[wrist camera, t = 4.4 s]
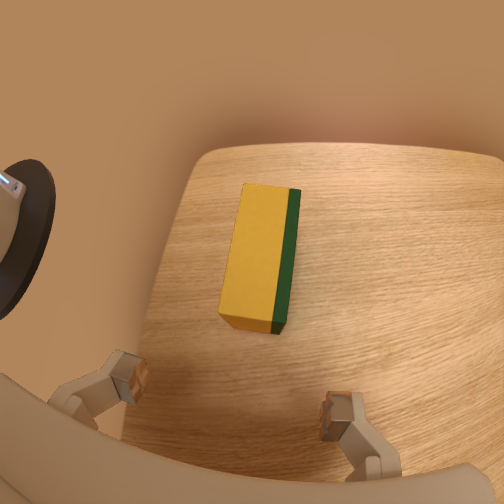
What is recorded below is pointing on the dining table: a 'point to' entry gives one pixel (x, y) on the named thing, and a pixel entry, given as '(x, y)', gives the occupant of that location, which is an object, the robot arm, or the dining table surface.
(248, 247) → the sponge
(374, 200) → the dining table surface
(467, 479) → the robot arm
